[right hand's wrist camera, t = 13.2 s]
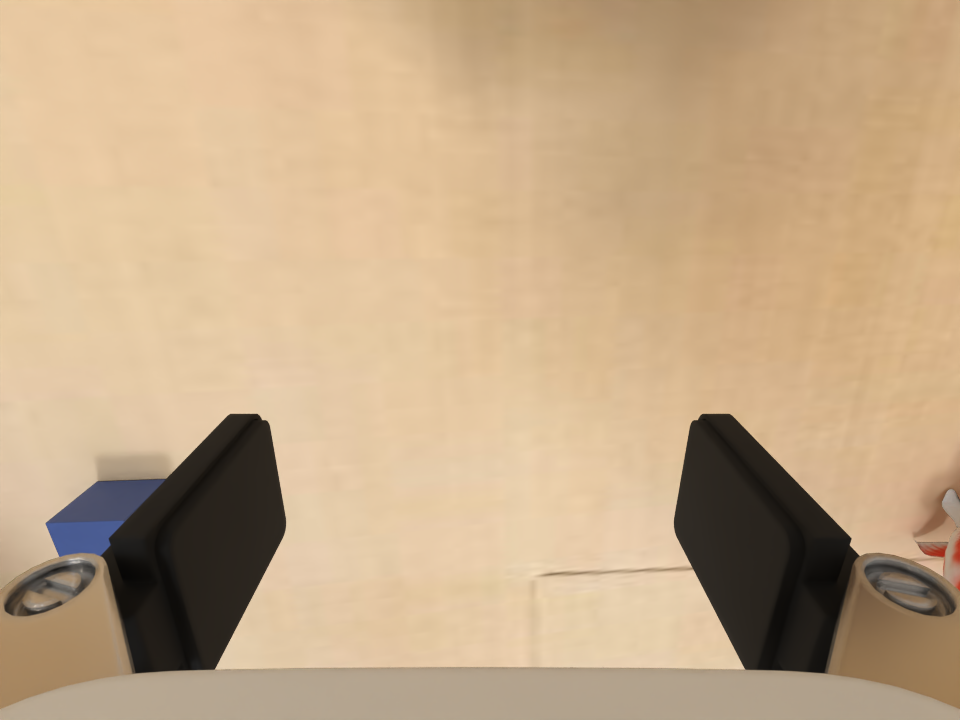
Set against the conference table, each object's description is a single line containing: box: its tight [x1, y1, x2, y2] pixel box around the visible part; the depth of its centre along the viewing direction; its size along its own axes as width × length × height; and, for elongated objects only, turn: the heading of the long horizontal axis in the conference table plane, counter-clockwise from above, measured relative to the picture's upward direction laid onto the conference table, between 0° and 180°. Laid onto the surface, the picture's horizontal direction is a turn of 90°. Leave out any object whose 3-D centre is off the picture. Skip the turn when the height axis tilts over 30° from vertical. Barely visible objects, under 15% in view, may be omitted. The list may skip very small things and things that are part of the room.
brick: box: [46, 479, 166, 557], centre depth 33 cm, size 5×5×4 cm
